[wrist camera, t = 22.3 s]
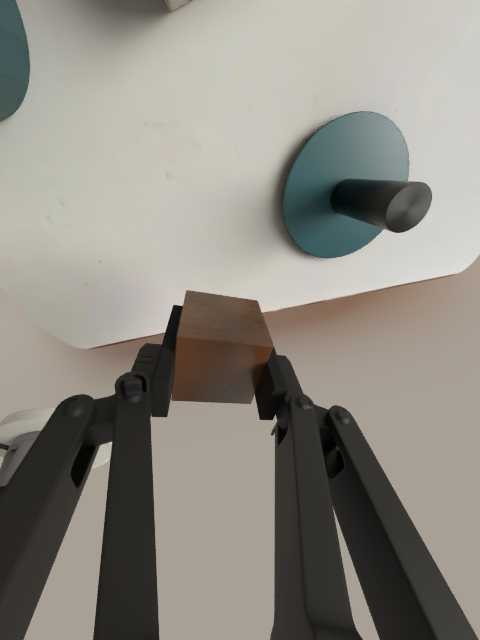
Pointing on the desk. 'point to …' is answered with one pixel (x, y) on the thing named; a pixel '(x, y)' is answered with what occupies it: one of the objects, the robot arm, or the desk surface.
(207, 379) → the block
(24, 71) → the pot
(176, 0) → the box
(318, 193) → the lid
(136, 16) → the desk surface
